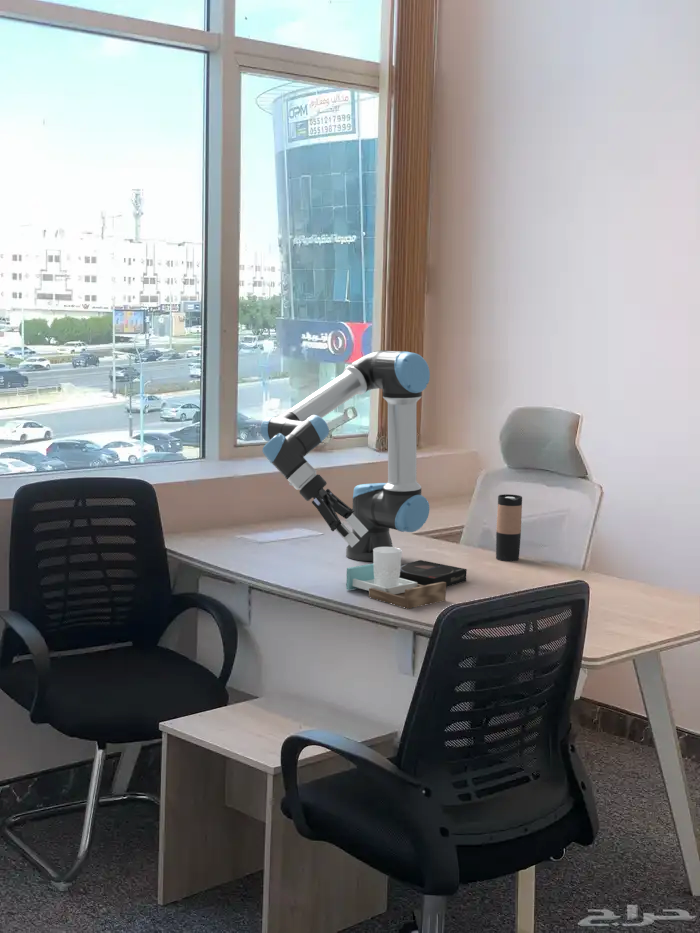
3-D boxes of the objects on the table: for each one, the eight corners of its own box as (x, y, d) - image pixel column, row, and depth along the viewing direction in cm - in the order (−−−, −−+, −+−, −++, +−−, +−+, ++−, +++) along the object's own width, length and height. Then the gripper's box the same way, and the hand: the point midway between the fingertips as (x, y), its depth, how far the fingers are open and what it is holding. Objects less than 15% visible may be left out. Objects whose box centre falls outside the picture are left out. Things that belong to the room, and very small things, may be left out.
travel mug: (501, 555, 372) (503, 493, 369) (523, 558, 368) (526, 496, 366) (491, 559, 366) (493, 496, 363) (513, 562, 362) (516, 499, 359)
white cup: (367, 582, 322) (368, 547, 321) (394, 581, 325) (395, 546, 324) (378, 589, 315) (379, 553, 314) (405, 587, 318) (406, 551, 316)
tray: (383, 582, 331) (383, 561, 330) (420, 592, 320) (420, 571, 319) (346, 589, 322) (346, 568, 321) (383, 600, 311) (383, 578, 310)
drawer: (406, 589, 324) (407, 572, 324) (445, 600, 314) (446, 582, 313) (368, 597, 315) (369, 579, 314) (407, 608, 304) (408, 590, 303)
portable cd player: (418, 572, 347) (418, 559, 347) (466, 582, 336) (466, 569, 336) (384, 582, 334) (384, 568, 334) (433, 592, 324) (433, 578, 323)
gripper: (308, 484, 333) (358, 538, 333) (287, 498, 309) (341, 557, 308) (326, 466, 332) (377, 521, 331) (307, 479, 307) (361, 539, 307)
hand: (360, 539), depth 320 cm, fingers open, 13 cm apart
